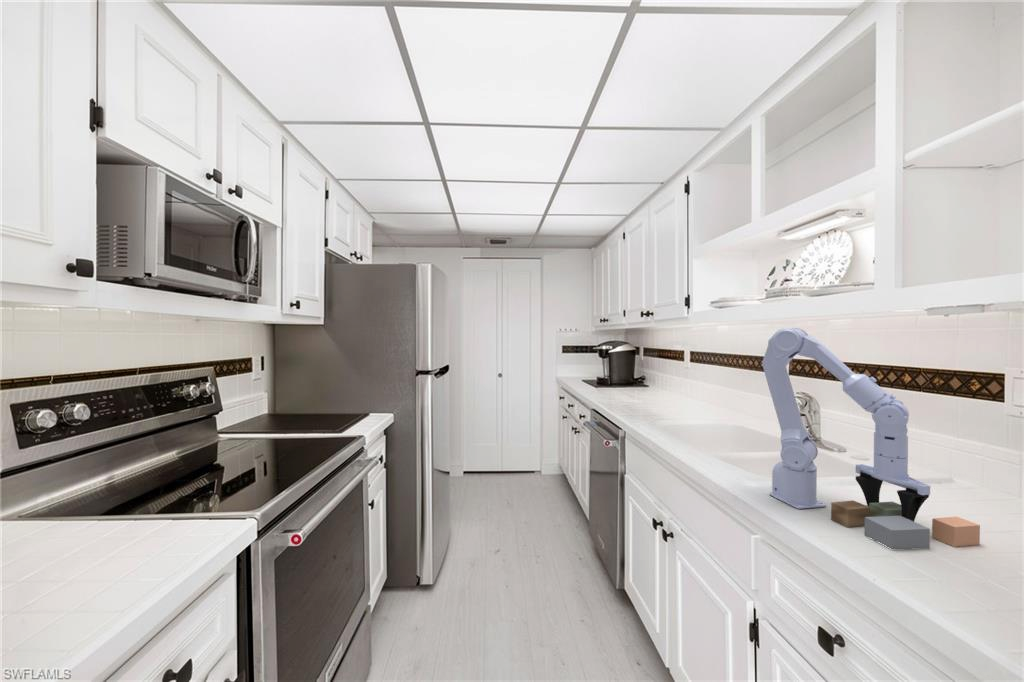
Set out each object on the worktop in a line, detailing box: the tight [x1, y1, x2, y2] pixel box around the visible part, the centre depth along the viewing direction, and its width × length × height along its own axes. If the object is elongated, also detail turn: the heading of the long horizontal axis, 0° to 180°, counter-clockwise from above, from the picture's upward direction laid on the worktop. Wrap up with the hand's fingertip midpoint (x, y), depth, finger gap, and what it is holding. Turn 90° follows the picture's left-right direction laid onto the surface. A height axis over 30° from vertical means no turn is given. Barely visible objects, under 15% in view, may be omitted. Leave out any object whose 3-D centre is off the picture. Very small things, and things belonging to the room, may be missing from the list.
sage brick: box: [869, 501, 902, 517], centre depth 95 cm, size 4×6×4 cm, turn 97°
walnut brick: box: [830, 499, 871, 528], centre depth 96 cm, size 4×6×4 cm, turn 101°
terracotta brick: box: [931, 516, 981, 548], centre depth 87 cm, size 4×6×4 cm, turn 98°
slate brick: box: [864, 516, 931, 550], centre depth 87 cm, size 6×8×4 cm
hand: (889, 515), depth 95 cm, fingers open, 7 cm apart
